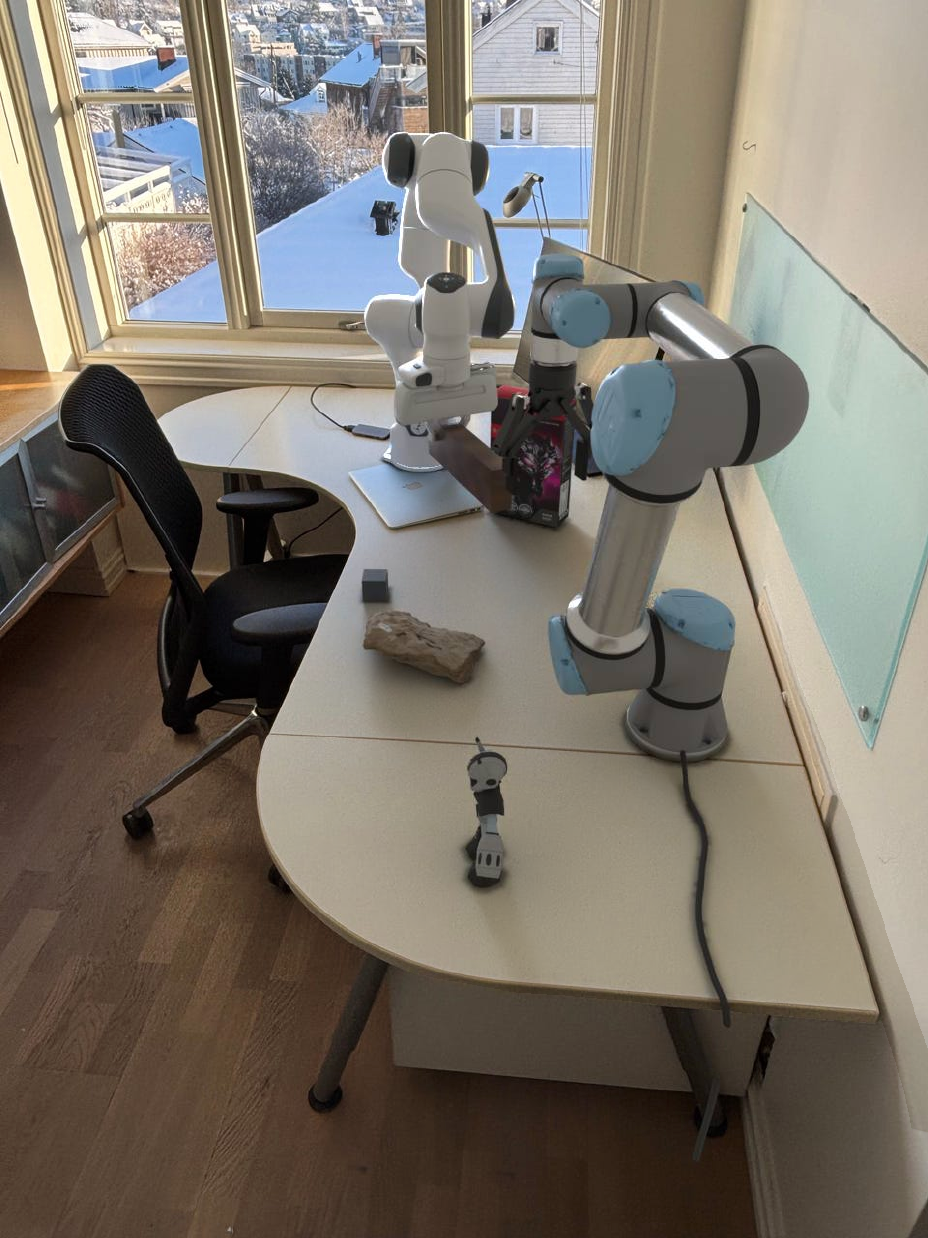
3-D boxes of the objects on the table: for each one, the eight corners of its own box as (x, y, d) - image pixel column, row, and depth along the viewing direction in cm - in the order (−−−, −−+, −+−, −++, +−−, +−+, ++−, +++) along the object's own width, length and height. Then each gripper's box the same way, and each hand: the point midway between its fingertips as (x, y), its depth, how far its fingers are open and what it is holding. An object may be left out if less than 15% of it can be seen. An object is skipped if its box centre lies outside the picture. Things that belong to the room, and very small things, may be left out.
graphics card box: (486, 512, 203) (488, 393, 188) (499, 500, 208) (503, 382, 193) (557, 530, 197) (566, 407, 181) (570, 517, 202) (579, 396, 187)
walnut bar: (511, 508, 162) (513, 466, 158) (491, 513, 161) (492, 470, 157) (447, 450, 184) (447, 411, 179) (428, 453, 182) (428, 414, 178)
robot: (509, 924, 113) (515, 806, 101) (469, 925, 112) (471, 808, 101) (496, 807, 129) (501, 695, 118) (462, 808, 129) (463, 696, 118)
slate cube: (386, 601, 173) (385, 581, 171) (362, 601, 173) (361, 581, 171) (388, 589, 177) (387, 568, 174) (365, 588, 177) (363, 568, 174)
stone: (339, 657, 153) (345, 625, 150) (371, 626, 166) (378, 596, 164) (457, 699, 149) (466, 667, 147) (481, 664, 163) (489, 634, 160)
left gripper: (489, 355, 175) (488, 424, 183) (389, 369, 168) (391, 440, 176) (504, 365, 171) (502, 435, 178) (401, 380, 163) (403, 453, 171)
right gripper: (606, 343, 152) (595, 464, 164) (471, 363, 143) (470, 489, 154) (632, 356, 147) (620, 479, 158) (494, 377, 137) (491, 507, 148)
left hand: (446, 438), depth 177 cm, fingers closed on walnut bar, 4 cm apart
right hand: (546, 484), depth 156 cm, fingers open, 13 cm apart
